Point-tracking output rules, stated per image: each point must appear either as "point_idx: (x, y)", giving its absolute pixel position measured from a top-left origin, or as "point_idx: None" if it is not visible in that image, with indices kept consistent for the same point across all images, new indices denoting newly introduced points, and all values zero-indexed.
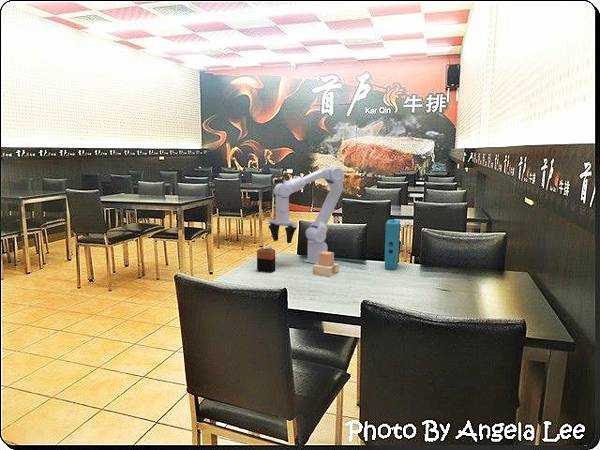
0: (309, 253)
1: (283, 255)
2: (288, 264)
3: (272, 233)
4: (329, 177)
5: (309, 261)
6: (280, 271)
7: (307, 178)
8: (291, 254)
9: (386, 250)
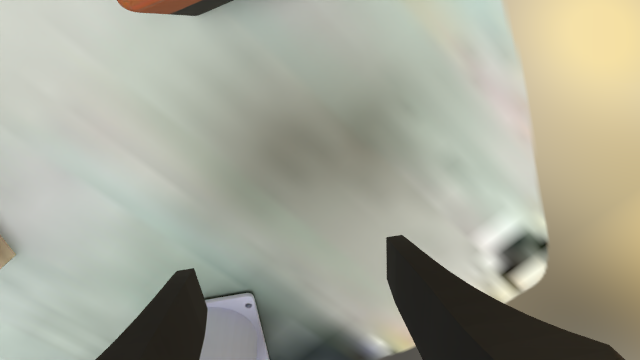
0: (203, 349)
1: None
2: (268, 198)
3: (455, 288)
4: None
5: (210, 306)
6: (141, 24)
7: None
8: None
9: None
